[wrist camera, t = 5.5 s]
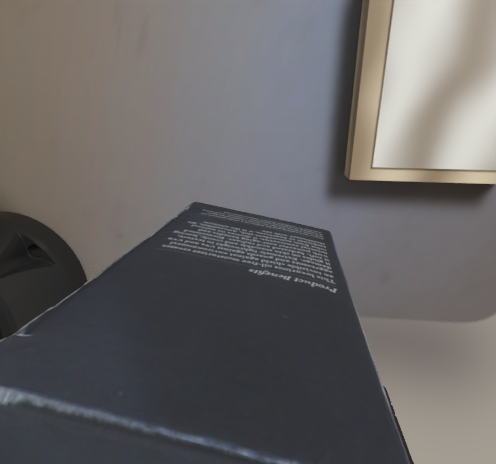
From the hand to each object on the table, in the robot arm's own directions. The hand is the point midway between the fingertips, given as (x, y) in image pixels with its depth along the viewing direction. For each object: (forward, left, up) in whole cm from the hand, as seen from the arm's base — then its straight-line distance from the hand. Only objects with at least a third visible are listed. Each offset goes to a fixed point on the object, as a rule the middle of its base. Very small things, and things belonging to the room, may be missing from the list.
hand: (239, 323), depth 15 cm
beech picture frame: (+13, +12, -15) cm, 23 cm away
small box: (0, 0, -1) cm, 1 cm away
